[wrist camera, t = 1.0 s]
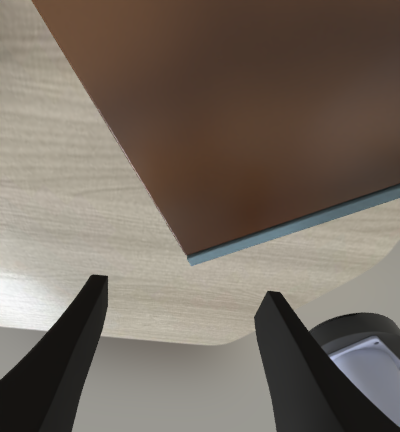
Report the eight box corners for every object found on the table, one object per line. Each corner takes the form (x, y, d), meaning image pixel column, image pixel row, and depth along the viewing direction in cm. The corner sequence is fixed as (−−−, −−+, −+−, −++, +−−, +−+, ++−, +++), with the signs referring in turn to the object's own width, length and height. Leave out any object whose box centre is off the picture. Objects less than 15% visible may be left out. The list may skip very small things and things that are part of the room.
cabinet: (382, 110, 18) (499, 150, 11) (189, 186, 21) (185, 256, 14) (365, -194, 12) (630, -571, 4) (86, -20, 15) (-19, -80, 8)
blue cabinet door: (383, 131, 19) (528, 198, 11) (196, 202, 22) (196, 298, 14) (381, 103, 18) (540, 153, 10) (186, 181, 21) (178, 271, 13)
